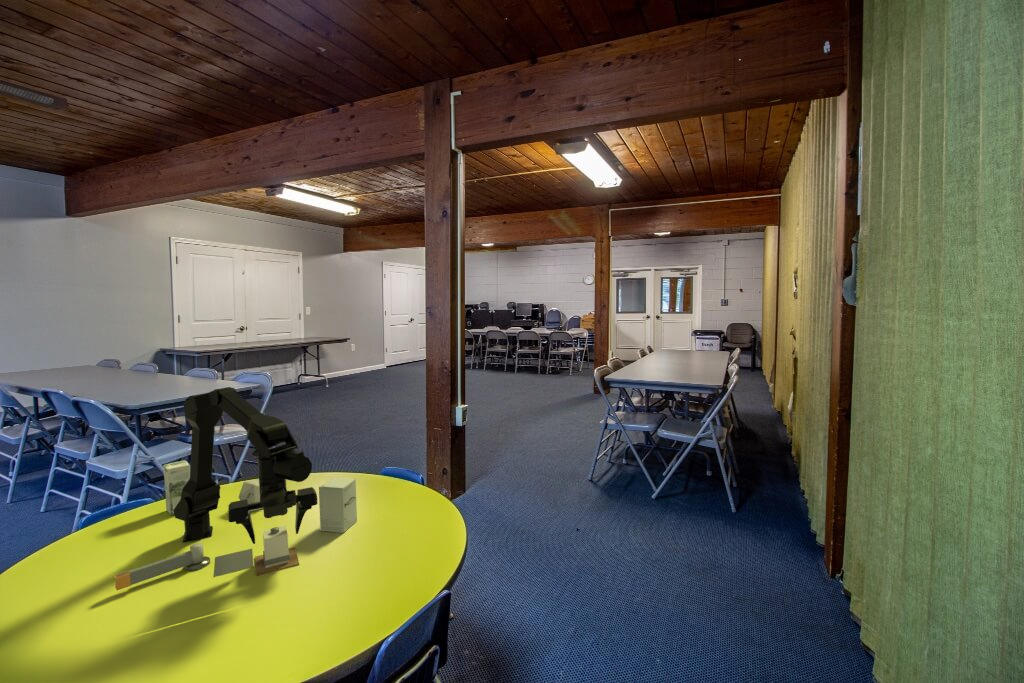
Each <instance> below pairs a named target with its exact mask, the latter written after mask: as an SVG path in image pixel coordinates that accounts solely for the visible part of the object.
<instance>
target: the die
mask: <svg viewBox="0 0 1024 683" xmlns="http://www.w3.org/2000/svg"><path fill="white" fill-rule="evenodd" d="M238 499H239V501H240V500H246V499H247V500H248V504H251V503H256V502H260V489H259V478H258V479H253V480H252V479H251V480H245V481H243V483H242V486H241V489H240V491H239V495H238Z"/></svg>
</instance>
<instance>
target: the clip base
mask: <svg viewBox="0 0 1024 683" xmlns="http://www.w3.org/2000/svg"><path fill="white" fill-rule="evenodd" d="M210 564H211V558H210V556H206V555H205V556H204V560H203V561H202V562H200V563H196V564H190V565H187V566H185V568H184V569H185V570H186V571H189V572H193V571H198V570H201V569H203V568H206V567H208V566H209V565H210Z"/></svg>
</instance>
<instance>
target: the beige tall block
mask: <svg viewBox="0 0 1024 683" xmlns="http://www.w3.org/2000/svg"><path fill="white" fill-rule="evenodd" d="M288 536H289V535H288V531H287V527H286V525H282V526H275V527H272V528H268V529H264V530H262V537H263V551H262V555H263V557H264V566H265V567H266V568H268V567H271V566H275V565H279V564H283V563H287V562H289V560H290V554H289V550H288V549H289V538H288Z"/></svg>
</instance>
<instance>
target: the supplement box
mask: <svg viewBox="0 0 1024 683" xmlns="http://www.w3.org/2000/svg"><path fill="white" fill-rule="evenodd" d="M356 481H357V480H356V478H350V477H348V478H347V477H346V478H345V477H332V478H331V479H329V480H327V481H325V482H324V483H323V484H321V485H320V486H318V500H319V502H318V503H319V504H318V506H319V523H320V524H319V527H320V528H319V529H320V531H321V532H329V533H339V534H340V533H341V534H344V533H345V532H346V531H347V530H348V529H350V528H351V527H352V526H353V525H355V523H357V522H358V511H357V510H358V509H357V507H358V505H357V482H356Z"/></svg>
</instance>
